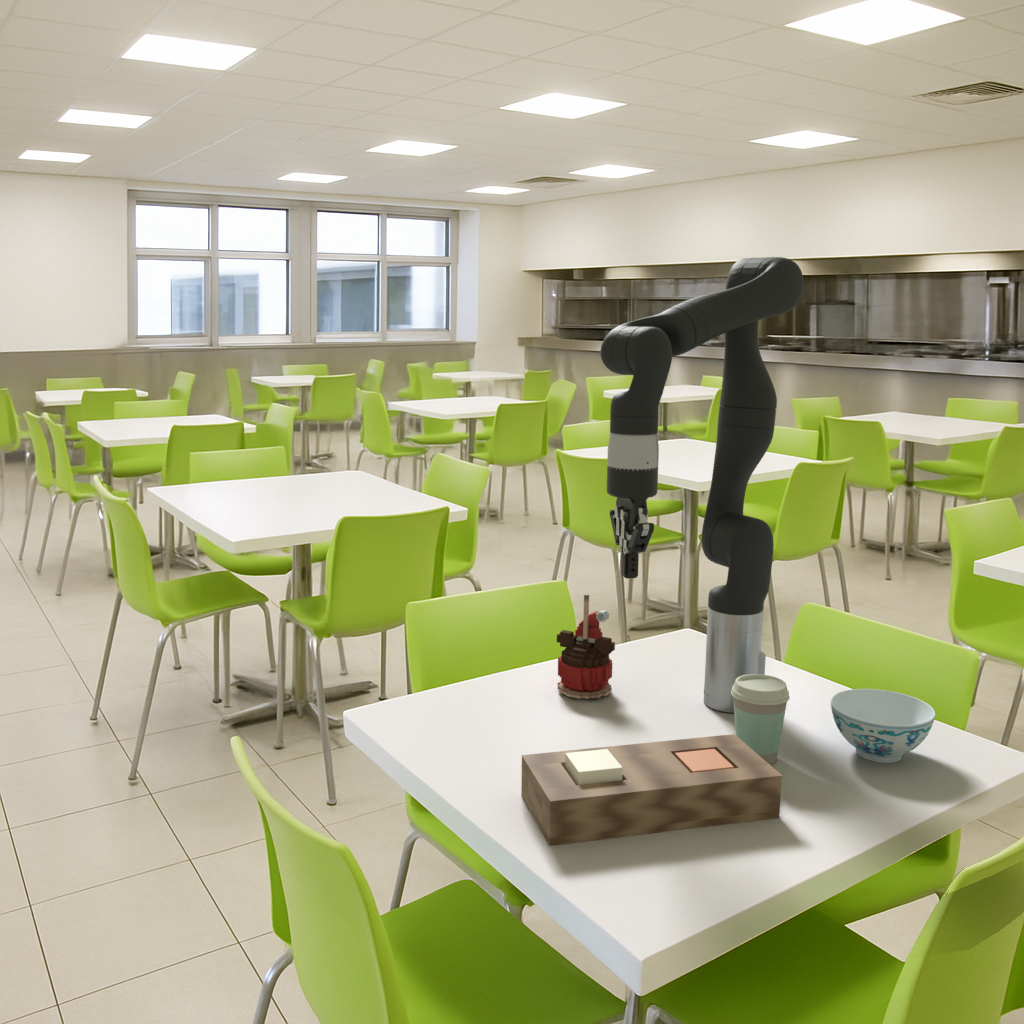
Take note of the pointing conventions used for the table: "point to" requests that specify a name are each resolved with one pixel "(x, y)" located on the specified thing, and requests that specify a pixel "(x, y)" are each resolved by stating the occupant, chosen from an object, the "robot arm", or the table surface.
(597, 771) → the cream key
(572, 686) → the cake
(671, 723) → the table surface
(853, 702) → the chinaware
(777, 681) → the coffee cup
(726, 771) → the block
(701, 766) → the terracotta key
